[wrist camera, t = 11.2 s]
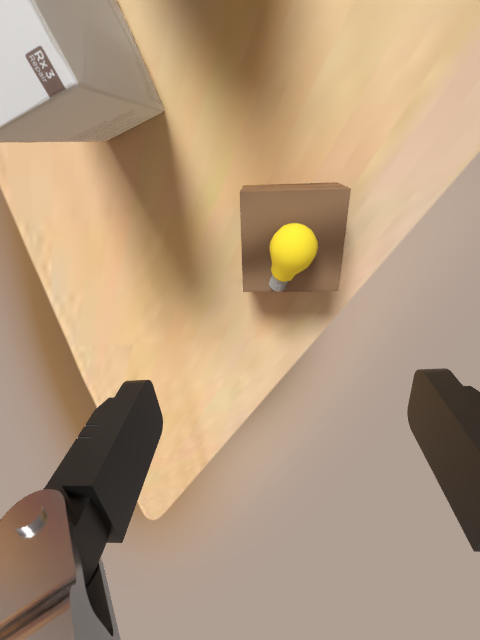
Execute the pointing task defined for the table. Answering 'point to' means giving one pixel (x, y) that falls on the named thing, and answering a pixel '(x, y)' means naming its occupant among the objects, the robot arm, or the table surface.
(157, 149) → the table surface
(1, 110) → the skincare box
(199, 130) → the table surface
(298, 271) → the light bulb
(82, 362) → the table surface
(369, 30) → the table surface
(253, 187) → the walnut block
